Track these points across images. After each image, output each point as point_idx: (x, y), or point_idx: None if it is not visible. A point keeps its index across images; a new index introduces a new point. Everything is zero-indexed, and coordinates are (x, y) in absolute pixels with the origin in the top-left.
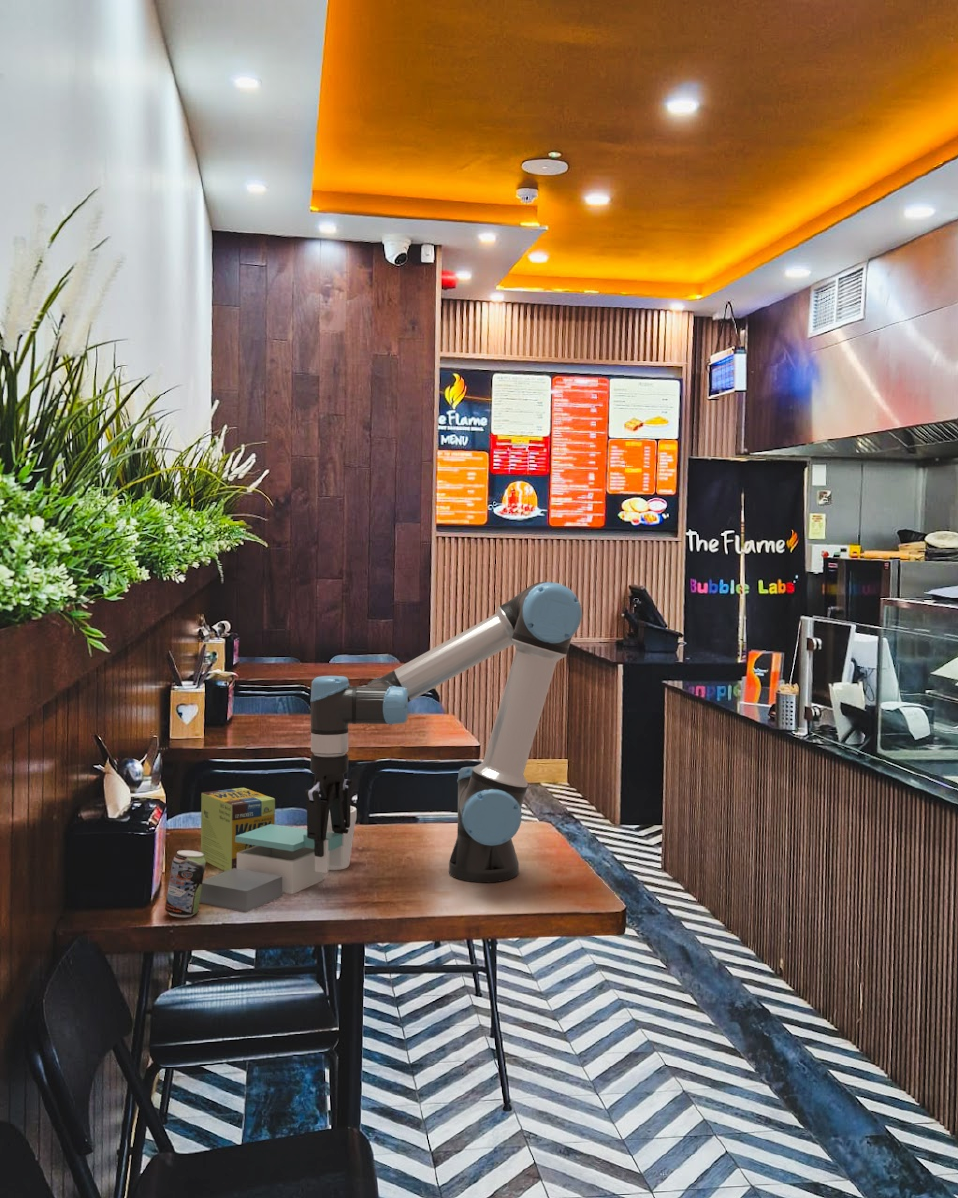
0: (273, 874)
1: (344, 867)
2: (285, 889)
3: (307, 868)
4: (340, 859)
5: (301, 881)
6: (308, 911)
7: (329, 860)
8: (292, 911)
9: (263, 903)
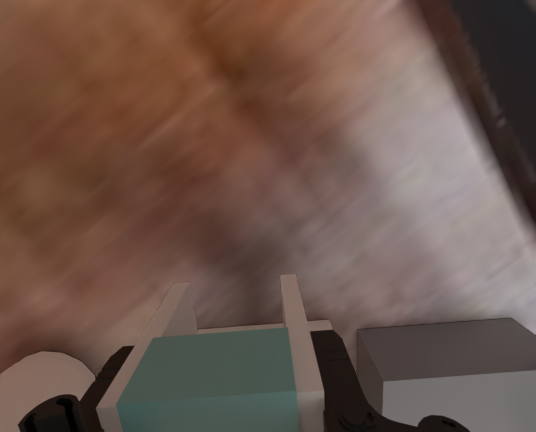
0: None
1: (44, 359)
2: None
3: None
4: (180, 300)
5: None
6: (414, 204)
7: None
8: (434, 242)
9: (446, 330)
